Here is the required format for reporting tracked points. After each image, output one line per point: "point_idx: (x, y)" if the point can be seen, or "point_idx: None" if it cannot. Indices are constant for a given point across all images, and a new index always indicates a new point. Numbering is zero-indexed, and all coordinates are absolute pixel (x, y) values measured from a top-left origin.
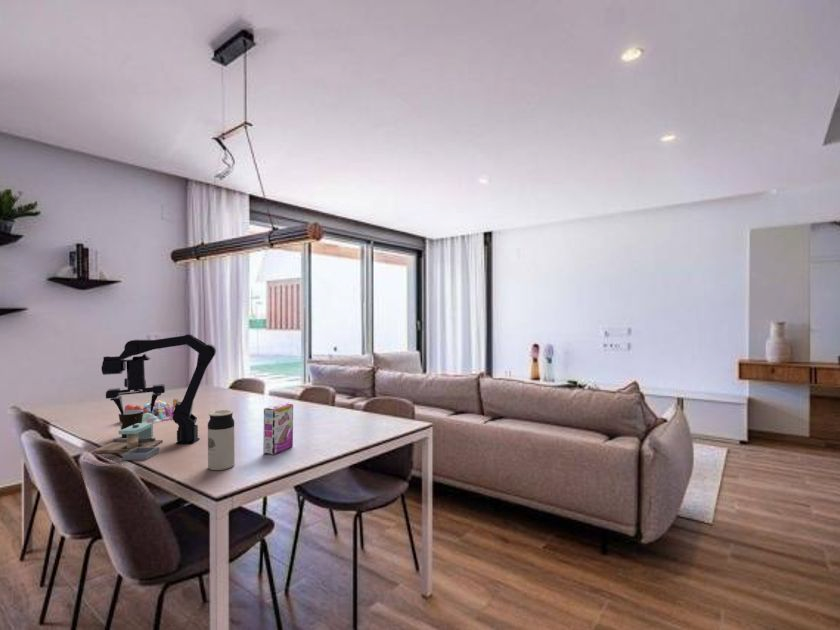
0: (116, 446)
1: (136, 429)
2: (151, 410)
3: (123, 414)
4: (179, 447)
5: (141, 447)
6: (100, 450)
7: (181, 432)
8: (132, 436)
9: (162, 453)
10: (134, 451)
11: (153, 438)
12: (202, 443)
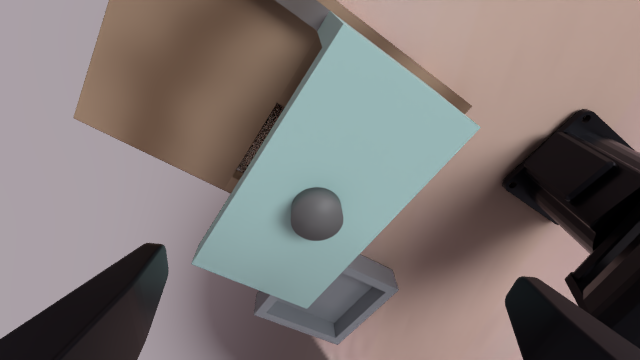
0: (199, 101)
1: (316, 283)
2: (523, 332)
3: (162, 270)
4: (485, 241)
5: None
6: (119, 139)
7: (567, 229)
8: None
9: (400, 284)
10: None
11: None
12: None
